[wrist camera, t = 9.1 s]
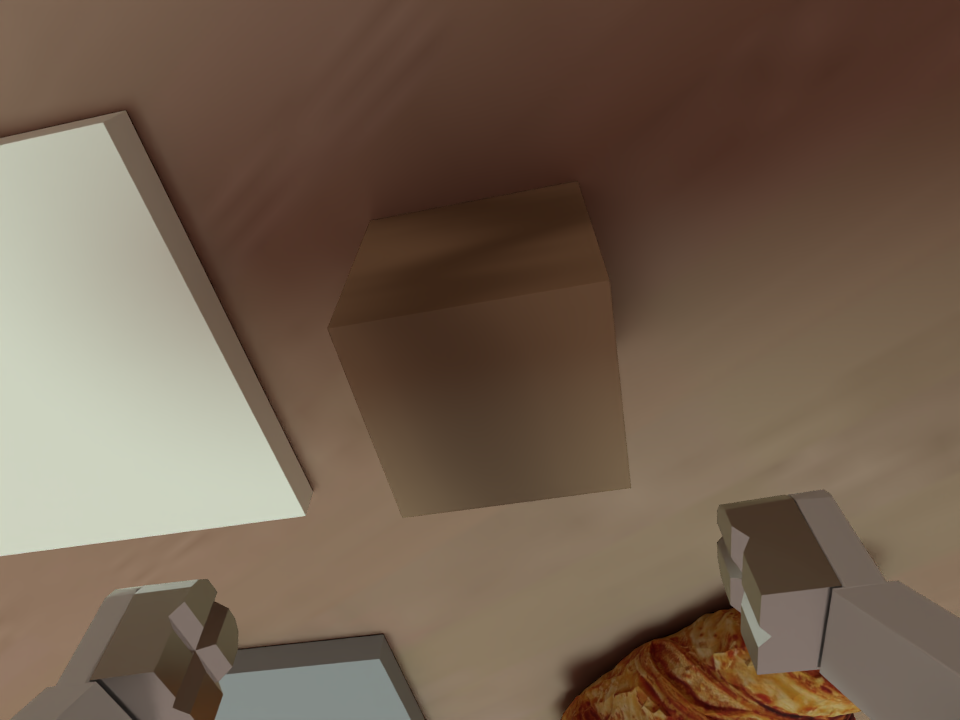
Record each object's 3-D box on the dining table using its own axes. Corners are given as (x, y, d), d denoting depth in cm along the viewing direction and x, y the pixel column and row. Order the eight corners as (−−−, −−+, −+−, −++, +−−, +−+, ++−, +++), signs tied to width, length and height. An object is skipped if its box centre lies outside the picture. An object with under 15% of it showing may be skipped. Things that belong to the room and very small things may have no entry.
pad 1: (125, 110, 14) (102, 122, 13) (313, 491, 21) (305, 515, 20) (-327, 211, 16) (-373, 227, 15) (-18, 537, 22) (-36, 560, 21)
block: (577, 179, 15) (609, 280, 11) (598, 355, 18) (631, 487, 14) (370, 219, 16) (327, 328, 12) (422, 382, 18) (402, 518, 14)
